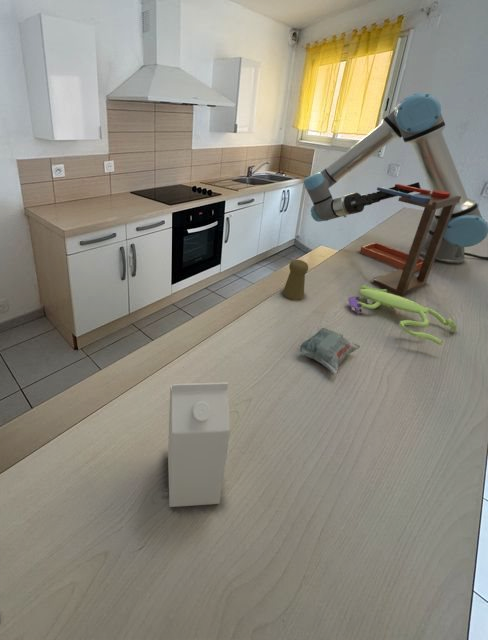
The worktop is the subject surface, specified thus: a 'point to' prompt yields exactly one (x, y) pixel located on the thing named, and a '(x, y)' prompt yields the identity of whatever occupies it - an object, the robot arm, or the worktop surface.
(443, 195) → the red spoon
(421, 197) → the blue spoon
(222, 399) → the milk carton
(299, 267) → the cork
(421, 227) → the slanted wooden stand
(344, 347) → the packaged food
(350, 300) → the figurine
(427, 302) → the worktop surface
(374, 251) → the tray
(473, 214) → the robot arm
